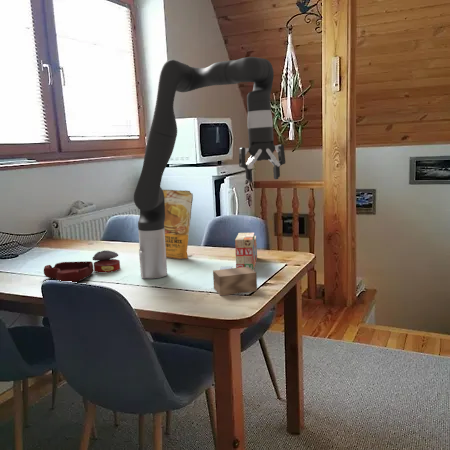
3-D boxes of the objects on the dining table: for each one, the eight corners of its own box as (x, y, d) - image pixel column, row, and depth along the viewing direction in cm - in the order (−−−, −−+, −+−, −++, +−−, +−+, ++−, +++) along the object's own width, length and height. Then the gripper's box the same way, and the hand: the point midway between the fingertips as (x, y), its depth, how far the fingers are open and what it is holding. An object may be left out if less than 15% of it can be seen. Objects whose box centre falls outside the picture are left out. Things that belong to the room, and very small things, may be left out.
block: (218, 274, 162) (220, 266, 172) (218, 286, 163) (221, 277, 172) (230, 274, 162) (232, 266, 171) (230, 285, 162) (232, 277, 172)
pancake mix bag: (162, 252, 215) (158, 188, 210) (197, 256, 204) (193, 189, 199) (151, 255, 209) (147, 190, 204) (187, 260, 199) (183, 191, 194)
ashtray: (106, 278, 178) (104, 264, 177) (63, 288, 167) (62, 274, 166) (81, 270, 191) (80, 257, 190) (41, 279, 180) (39, 266, 179)
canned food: (95, 283, 187) (81, 261, 187) (110, 274, 197) (96, 252, 196) (116, 272, 183) (102, 249, 182) (130, 262, 192) (116, 241, 191)
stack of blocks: (242, 258, 199) (241, 228, 197) (257, 258, 199) (256, 228, 196) (236, 272, 179) (234, 238, 176) (253, 272, 178) (252, 238, 176)
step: (220, 295, 152) (219, 276, 151) (213, 288, 159) (213, 270, 158) (257, 290, 155) (256, 272, 154) (248, 284, 162) (248, 266, 161)
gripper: (241, 127, 143) (245, 183, 145) (287, 124, 147) (289, 178, 149) (234, 128, 150) (237, 181, 152) (277, 125, 154) (280, 177, 156)
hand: (263, 180), depth 151 cm, fingers open, 8 cm apart
